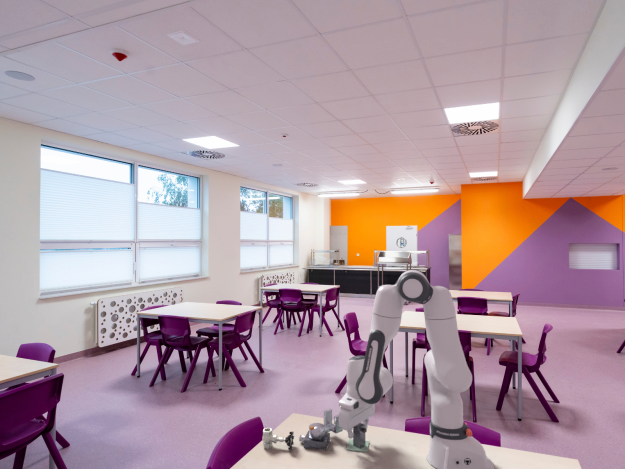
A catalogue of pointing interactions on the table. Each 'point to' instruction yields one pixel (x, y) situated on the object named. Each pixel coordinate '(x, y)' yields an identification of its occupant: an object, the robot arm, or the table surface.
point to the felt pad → (353, 448)
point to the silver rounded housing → (324, 426)
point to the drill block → (315, 442)
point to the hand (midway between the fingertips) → (358, 433)
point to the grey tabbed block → (359, 435)
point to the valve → (275, 439)
